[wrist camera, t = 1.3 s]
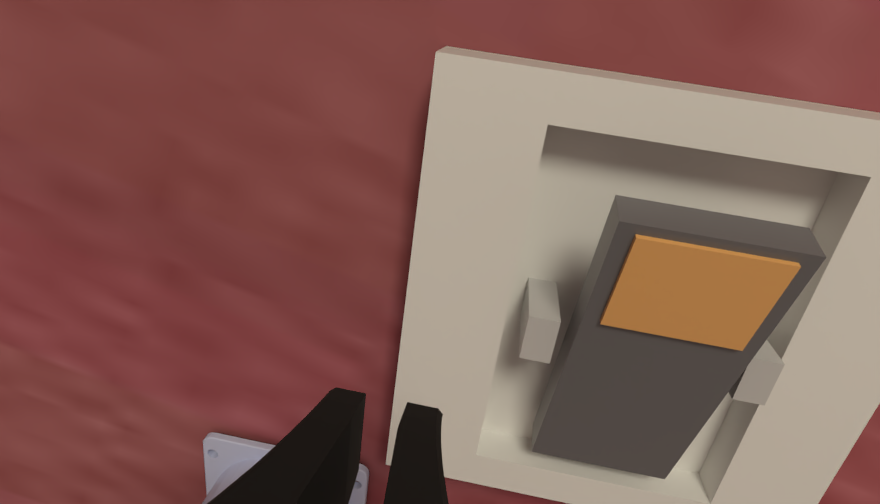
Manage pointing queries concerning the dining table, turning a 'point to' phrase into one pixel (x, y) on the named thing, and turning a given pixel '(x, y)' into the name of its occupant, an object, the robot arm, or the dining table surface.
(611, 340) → the rocker
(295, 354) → the dining table surface
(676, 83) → the breaker housing
